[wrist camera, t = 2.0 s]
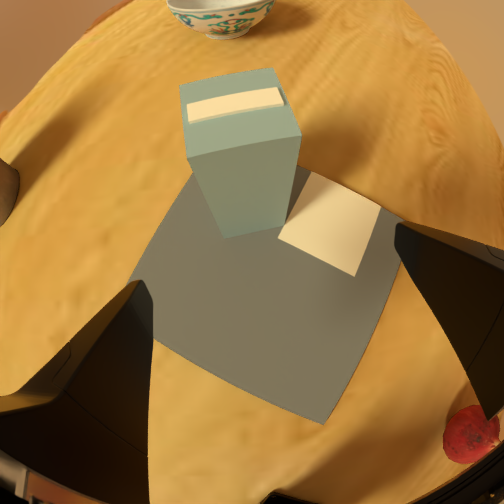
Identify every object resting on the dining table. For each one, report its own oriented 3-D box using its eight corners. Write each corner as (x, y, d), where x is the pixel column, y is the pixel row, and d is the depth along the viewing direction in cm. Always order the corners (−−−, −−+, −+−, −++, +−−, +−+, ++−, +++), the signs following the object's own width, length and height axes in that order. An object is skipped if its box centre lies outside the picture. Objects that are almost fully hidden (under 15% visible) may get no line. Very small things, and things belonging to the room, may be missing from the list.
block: (269, 173, 24) (273, 64, 12) (284, 225, 23) (302, 132, 11) (214, 185, 24) (178, 82, 12) (223, 238, 23) (185, 155, 11)
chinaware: (282, 12, 32) (283, -24, 25) (271, 57, 29) (271, 9, 21) (194, 12, 33) (187, -21, 26) (163, 57, 30) (148, 16, 23)
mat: (409, 226, 23) (412, 224, 22) (322, 422, 19) (323, 425, 19) (220, 137, 26) (220, 133, 25) (116, 310, 22) (112, 310, 22)
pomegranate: (418, 440, 18) (463, 470, 10) (451, 390, 19) (505, 404, 11) (447, 455, 17) (490, 481, 9) (477, 409, 18) (525, 424, 10)
